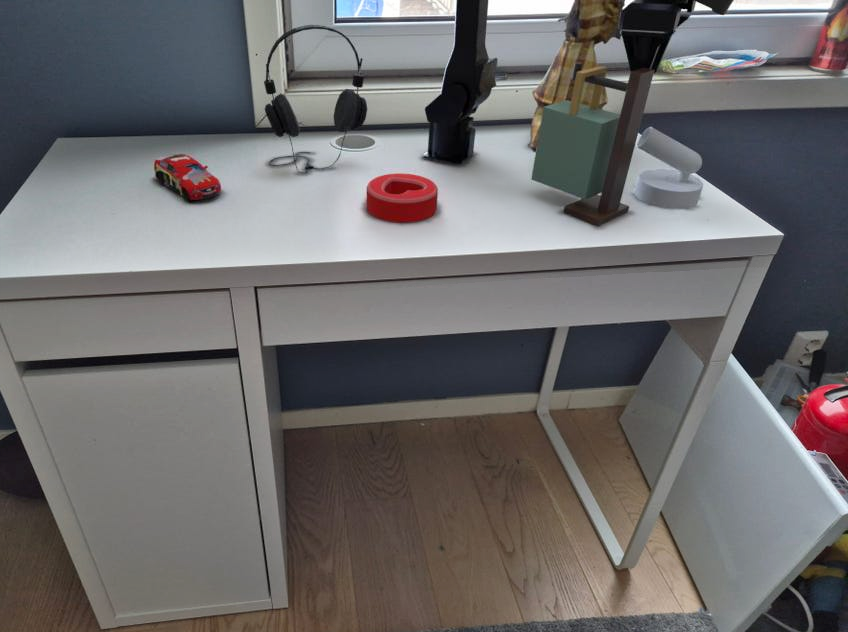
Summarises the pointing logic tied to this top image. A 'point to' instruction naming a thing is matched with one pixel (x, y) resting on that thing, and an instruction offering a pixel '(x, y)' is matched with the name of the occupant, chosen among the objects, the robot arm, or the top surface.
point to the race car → (186, 177)
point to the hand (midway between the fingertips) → (645, 80)
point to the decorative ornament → (401, 198)
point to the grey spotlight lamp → (669, 173)
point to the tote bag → (576, 142)
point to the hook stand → (616, 148)
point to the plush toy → (577, 55)
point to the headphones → (347, 107)
